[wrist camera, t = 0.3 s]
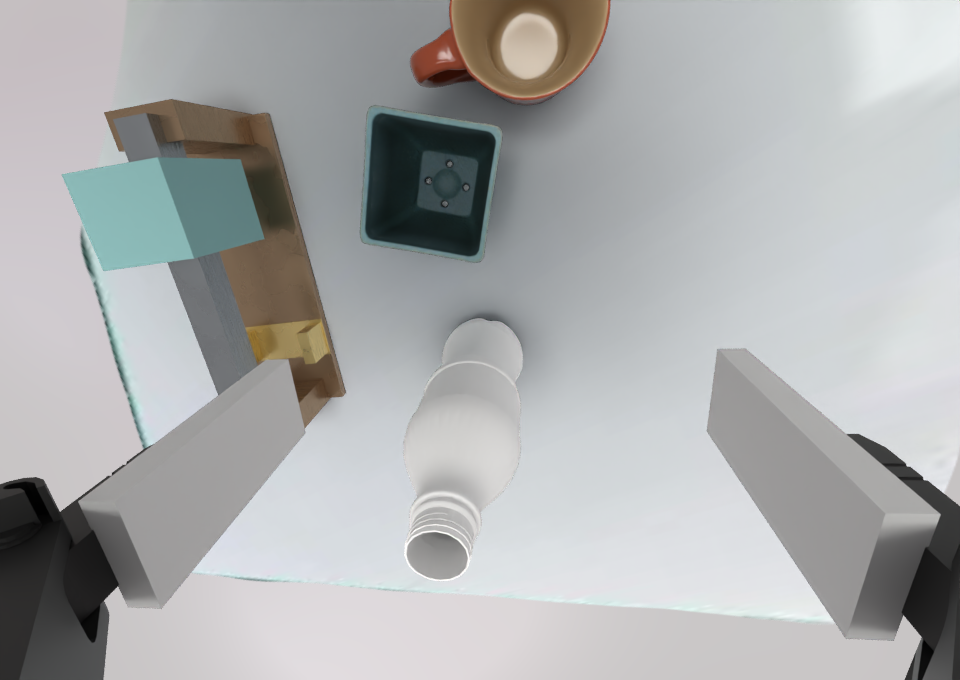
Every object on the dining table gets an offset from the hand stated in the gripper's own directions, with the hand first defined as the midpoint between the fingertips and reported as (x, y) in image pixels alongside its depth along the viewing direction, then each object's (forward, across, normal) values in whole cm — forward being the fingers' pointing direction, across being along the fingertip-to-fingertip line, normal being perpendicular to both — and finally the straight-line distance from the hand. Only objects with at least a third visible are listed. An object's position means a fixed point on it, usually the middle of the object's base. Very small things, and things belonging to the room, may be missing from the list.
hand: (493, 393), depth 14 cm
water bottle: (+28, -3, -9) cm, 29 cm away
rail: (+27, -23, -2) cm, 36 cm away
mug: (+28, 0, +14) cm, 31 cm away
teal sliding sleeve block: (+19, -23, +5) cm, 31 cm away
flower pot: (+28, -5, +5) cm, 29 cm away
